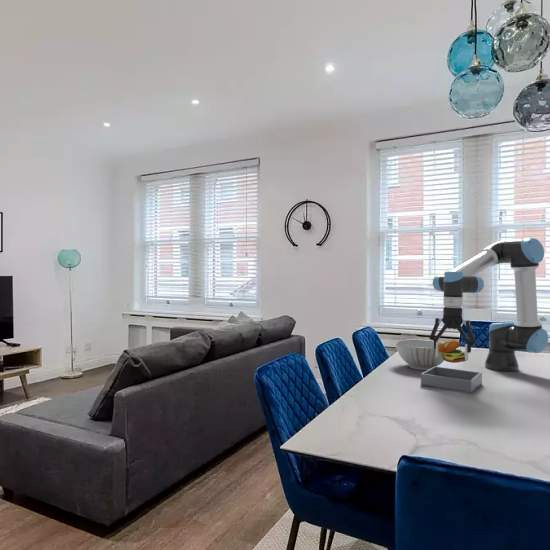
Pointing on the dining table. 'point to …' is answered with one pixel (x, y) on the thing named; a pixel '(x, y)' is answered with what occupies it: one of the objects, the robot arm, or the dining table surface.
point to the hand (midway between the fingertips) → (451, 358)
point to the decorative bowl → (419, 353)
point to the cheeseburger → (451, 352)
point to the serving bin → (451, 379)
